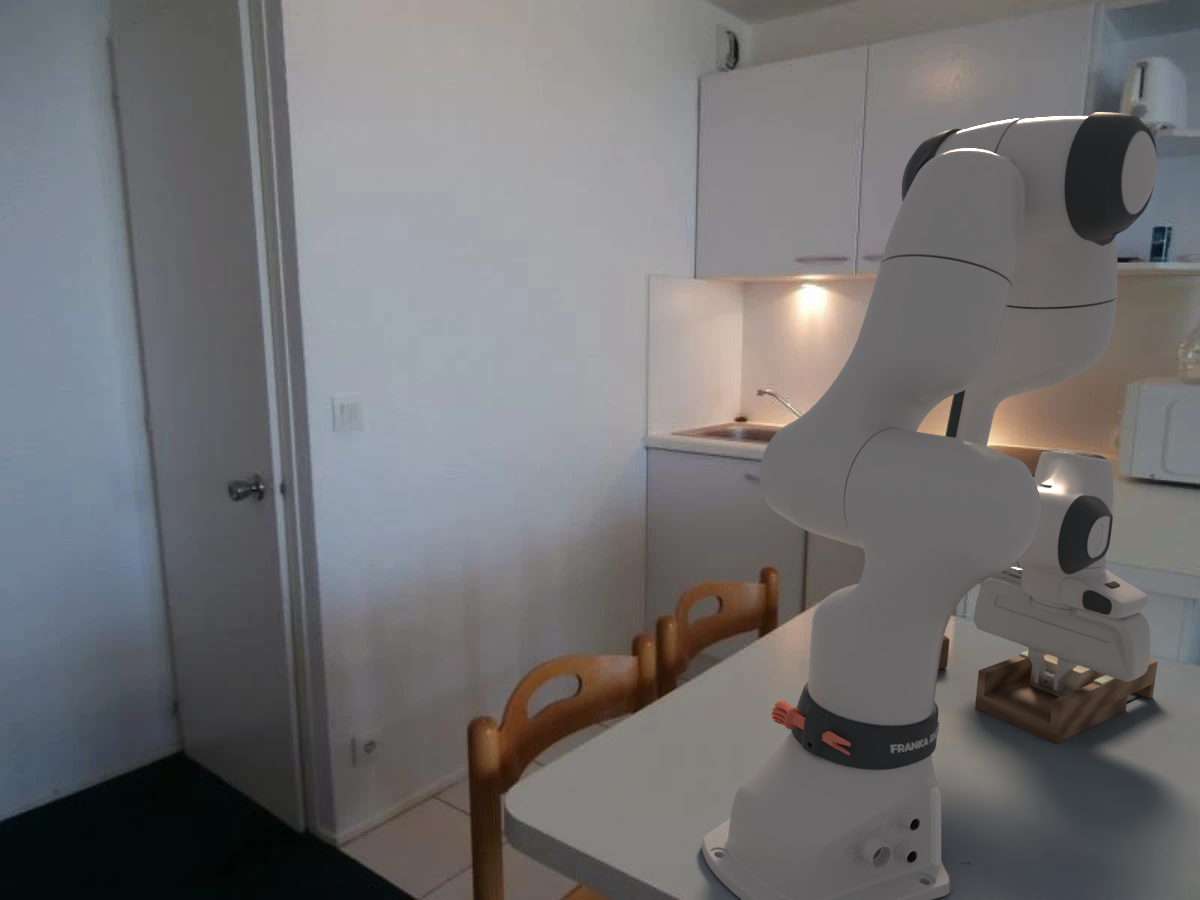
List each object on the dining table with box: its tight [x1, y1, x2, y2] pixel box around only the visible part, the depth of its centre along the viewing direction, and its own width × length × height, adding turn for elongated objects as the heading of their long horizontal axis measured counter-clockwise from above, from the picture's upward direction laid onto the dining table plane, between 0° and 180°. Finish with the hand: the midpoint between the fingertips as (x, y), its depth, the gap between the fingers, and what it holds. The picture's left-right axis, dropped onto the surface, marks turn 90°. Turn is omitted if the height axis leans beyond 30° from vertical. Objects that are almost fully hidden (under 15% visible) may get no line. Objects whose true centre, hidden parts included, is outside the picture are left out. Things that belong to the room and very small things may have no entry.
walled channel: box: [974, 649, 1159, 744], centre depth 108 cm, size 23×10×5 cm, turn 123°
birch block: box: [1030, 654, 1105, 697], centre depth 108 cm, size 6×6×4 cm
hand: (1049, 686), depth 106 cm, fingers closed
